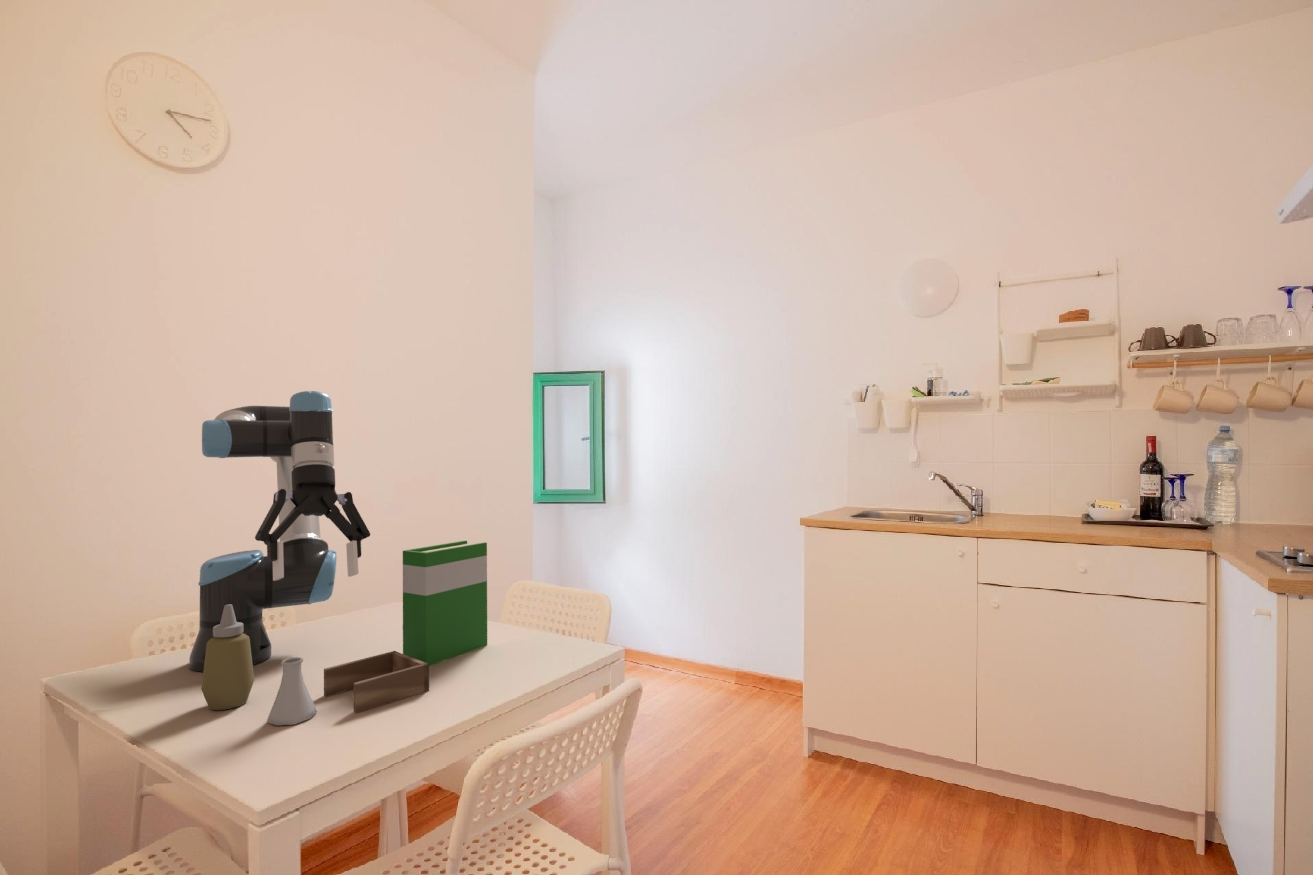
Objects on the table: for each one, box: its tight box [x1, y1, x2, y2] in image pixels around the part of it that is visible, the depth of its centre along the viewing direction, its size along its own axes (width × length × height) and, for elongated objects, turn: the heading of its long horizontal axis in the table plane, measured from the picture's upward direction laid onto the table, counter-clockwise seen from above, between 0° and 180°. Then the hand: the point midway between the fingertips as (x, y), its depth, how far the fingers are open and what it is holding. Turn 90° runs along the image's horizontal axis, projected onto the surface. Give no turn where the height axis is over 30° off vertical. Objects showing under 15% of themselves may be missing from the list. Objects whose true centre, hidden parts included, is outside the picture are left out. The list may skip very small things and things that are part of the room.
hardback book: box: [402, 540, 488, 667], centre depth 150 cm, size 18×7×24 cm, turn 149°
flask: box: [266, 656, 318, 726], centre depth 114 cm, size 7×7×10 cm
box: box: [323, 650, 430, 714], centre depth 125 cm, size 13×14×5 cm
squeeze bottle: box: [200, 604, 255, 711], centre depth 120 cm, size 8×8×18 cm
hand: (317, 577), depth 124 cm, fingers open, 13 cm apart
